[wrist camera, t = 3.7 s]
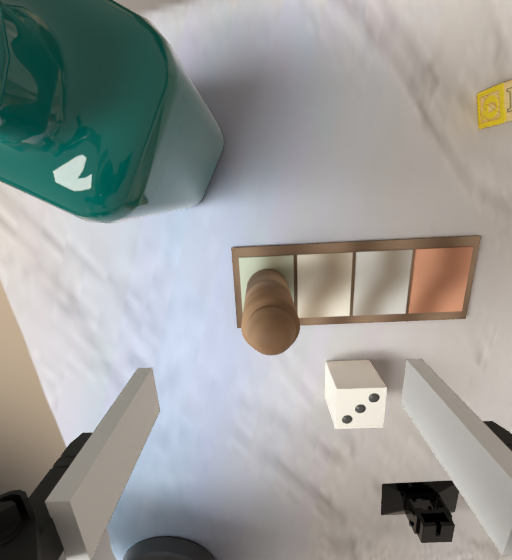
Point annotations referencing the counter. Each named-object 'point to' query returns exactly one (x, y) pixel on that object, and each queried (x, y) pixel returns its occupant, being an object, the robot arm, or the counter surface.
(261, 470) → the counter surface
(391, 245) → the game board
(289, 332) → the wooden domed cylinder
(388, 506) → the black piece
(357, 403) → the die
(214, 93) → the counter surface
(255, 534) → the counter surface
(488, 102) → the alphabet block
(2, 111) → the green plastic tall bottle
